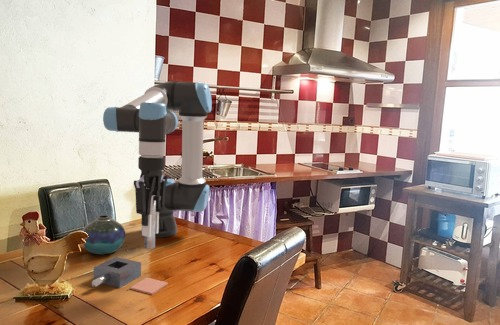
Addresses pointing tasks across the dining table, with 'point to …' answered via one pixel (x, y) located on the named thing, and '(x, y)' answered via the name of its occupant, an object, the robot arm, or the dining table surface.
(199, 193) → the robot arm
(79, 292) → the dining table surface
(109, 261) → the chuck block
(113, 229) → the vase
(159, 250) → the dining table surface
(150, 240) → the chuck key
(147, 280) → the mat
